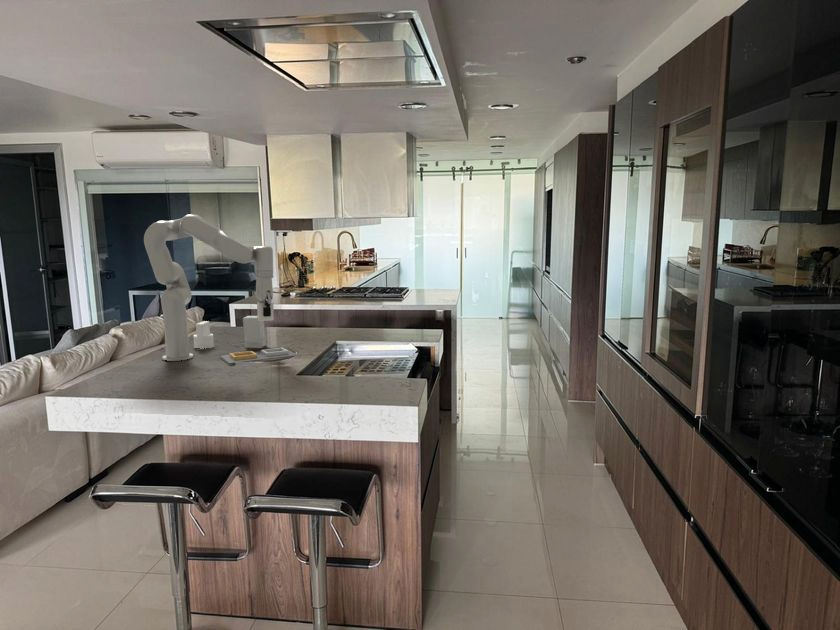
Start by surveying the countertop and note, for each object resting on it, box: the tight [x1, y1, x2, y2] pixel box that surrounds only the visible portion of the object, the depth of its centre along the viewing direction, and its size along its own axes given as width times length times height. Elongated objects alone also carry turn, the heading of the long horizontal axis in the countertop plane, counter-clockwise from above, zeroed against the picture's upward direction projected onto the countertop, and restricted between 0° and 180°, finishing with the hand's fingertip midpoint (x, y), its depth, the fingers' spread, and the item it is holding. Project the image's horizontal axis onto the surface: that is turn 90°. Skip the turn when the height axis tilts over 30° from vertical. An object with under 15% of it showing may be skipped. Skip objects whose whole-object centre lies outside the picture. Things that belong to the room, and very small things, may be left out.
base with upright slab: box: [193, 320, 215, 350], centre depth 276 cm, size 9×9×12 cm
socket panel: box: [219, 347, 298, 366], centre depth 255 cm, size 16×30×2 cm, turn 122°
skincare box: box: [242, 315, 266, 349], centre depth 273 cm, size 8×7×16 cm
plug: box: [256, 301, 275, 322], centre depth 254 cm, size 4×6×9 cm, turn 123°
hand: (265, 315), depth 254 cm, fingers closed on plug, 4 cm apart
